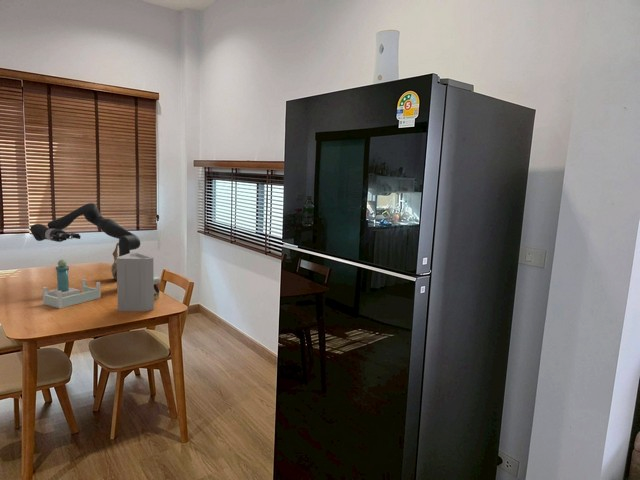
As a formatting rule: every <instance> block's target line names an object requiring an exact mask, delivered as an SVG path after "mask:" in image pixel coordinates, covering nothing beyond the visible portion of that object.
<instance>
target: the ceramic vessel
mask: <svg viewBox="0 0 640 480" xmlns="http://www.w3.org/2000/svg"><path fill="white" fill-rule="evenodd" d="M112 256H113V263H112V264H111V268H110V271H111V275H112V277H113V278H114V279H115V280H116V281H117V257H120V254H119V242H117V243H116V244H115V248H114V251H113V252H112Z"/></svg>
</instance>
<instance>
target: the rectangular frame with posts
mask: <svg viewBox="0 0 640 480" xmlns="http://www.w3.org/2000/svg"><path fill="white" fill-rule="evenodd" d="M47 291H48V287H47V286H44V287H42V302H43V303H42V304H43V305H46V306H49V307H54V308H57V309H63V308H67V307H69V306H74V305H78V304H82V303H85V302H90V301H92V300H97V299H101V282H100V281H99V282H98V281H97V282H95V287H92V286H91V287H90V286H87V278H83V279H81V292H80V293H79V294H75V295H71V296H67V297H62V291H57V297H54V296H50V295H48V294H47Z"/></svg>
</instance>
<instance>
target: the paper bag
mask: <svg viewBox="0 0 640 480" xmlns="http://www.w3.org/2000/svg"><path fill="white" fill-rule="evenodd" d="M154 270H155V269H154V257H152V256H149V255H146V254H144V253H140V252H130V253H129V254H126V255H123V256H120V257H119V256H118V257H117V280H116V287H117V288H116V289H117V291H116V296H117V310H118V311H119V312H149V311H153V310H155V299H154V276H155V275H154V274H155V273H154V272H155V271H154Z"/></svg>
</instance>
